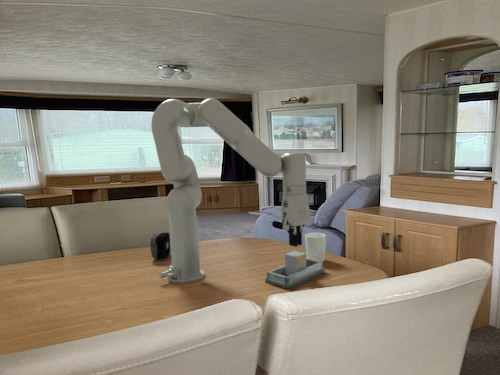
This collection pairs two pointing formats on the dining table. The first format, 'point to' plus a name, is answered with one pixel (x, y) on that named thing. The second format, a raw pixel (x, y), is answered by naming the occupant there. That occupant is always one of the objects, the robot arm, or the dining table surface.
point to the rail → (295, 275)
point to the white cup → (315, 246)
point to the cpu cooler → (160, 245)
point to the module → (294, 262)
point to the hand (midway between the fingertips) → (295, 244)
